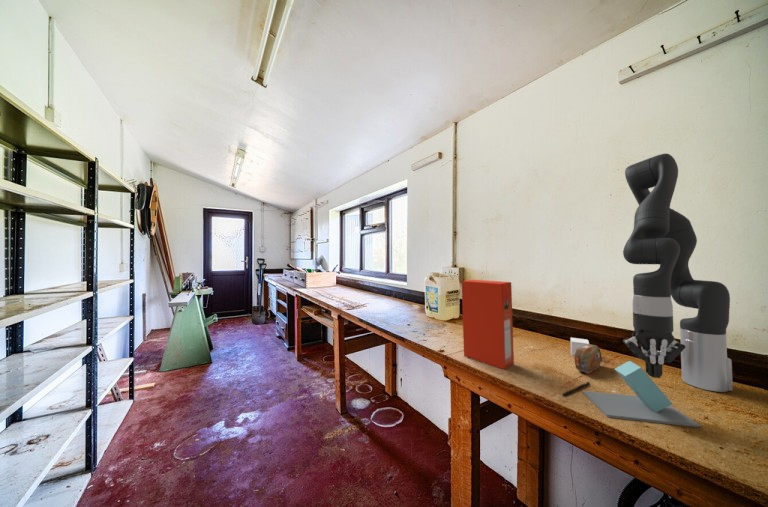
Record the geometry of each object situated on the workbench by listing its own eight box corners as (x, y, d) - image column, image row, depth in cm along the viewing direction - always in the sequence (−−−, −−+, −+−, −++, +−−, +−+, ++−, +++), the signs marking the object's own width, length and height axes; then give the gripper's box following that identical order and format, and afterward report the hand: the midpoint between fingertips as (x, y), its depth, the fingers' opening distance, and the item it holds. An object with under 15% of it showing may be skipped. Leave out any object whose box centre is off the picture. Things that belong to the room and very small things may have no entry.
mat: (659, 400, 74) (659, 398, 74) (699, 427, 62) (699, 424, 62) (583, 393, 78) (583, 391, 78) (607, 417, 67) (606, 414, 67)
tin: (583, 376, 89) (582, 351, 89) (573, 372, 92) (572, 349, 92) (602, 366, 97) (601, 343, 97) (592, 363, 99) (591, 341, 99)
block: (658, 394, 71) (629, 360, 72) (672, 403, 66) (641, 367, 68) (643, 402, 71) (614, 369, 73) (656, 412, 67) (625, 376, 69)
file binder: (503, 370, 95) (501, 283, 95) (463, 356, 108) (461, 280, 109) (513, 364, 100) (511, 282, 100) (474, 351, 113) (472, 279, 114)
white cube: (589, 358, 104) (589, 343, 104) (571, 355, 107) (571, 341, 107) (588, 353, 109) (587, 339, 109) (570, 351, 112) (570, 337, 112)
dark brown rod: (563, 397, 76) (563, 394, 76) (562, 397, 77) (561, 393, 77) (590, 385, 83) (589, 382, 83) (588, 384, 84) (588, 381, 84)
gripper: (670, 310, 71) (672, 372, 71) (614, 308, 74) (615, 368, 74) (696, 316, 64) (698, 386, 64) (632, 314, 67) (634, 380, 67)
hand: (653, 376), depth 69 cm, fingers closed
